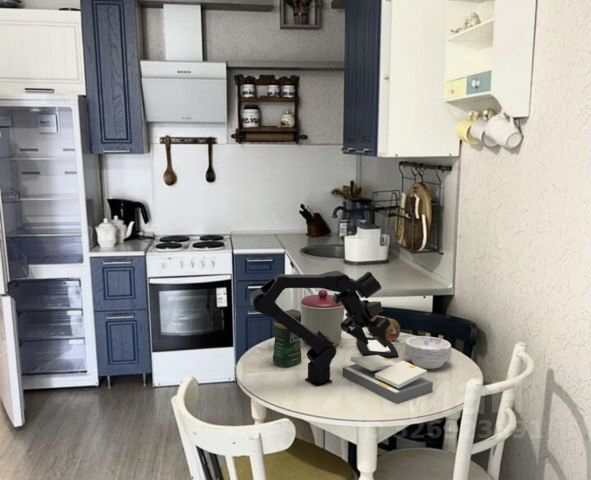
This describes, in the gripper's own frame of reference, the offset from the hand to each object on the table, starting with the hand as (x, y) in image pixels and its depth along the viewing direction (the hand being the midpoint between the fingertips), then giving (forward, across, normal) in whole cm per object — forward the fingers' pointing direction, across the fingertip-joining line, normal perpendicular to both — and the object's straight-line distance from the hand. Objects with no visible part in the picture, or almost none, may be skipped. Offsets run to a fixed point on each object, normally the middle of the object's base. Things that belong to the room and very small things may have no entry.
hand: (376, 345), depth 177 cm
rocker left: (+4, 0, +4) cm, 6 cm away
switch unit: (+9, -4, +7) cm, 12 cm away
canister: (+5, +36, -2) cm, 37 cm away
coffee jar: (-4, +27, +18) cm, 33 cm away
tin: (+18, +30, -22) cm, 41 cm away
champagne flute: (-3, +40, +11) cm, 42 cm away
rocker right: (+6, -11, +4) cm, 13 cm away
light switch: (+14, +21, -12) cm, 28 cm away
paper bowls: (+20, +1, -14) cm, 24 cm away
